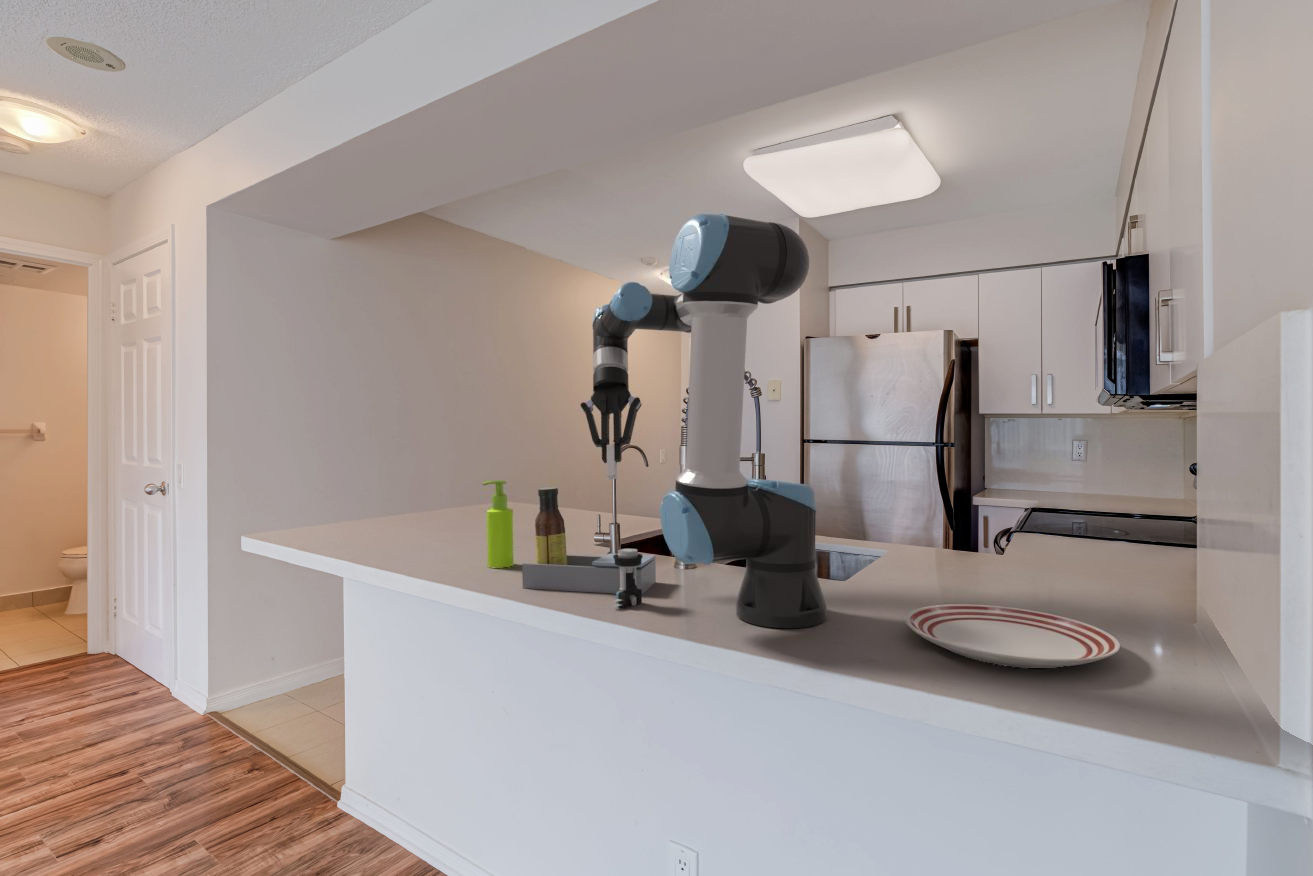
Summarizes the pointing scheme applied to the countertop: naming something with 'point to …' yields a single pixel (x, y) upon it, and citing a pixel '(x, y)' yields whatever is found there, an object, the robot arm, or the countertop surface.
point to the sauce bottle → (550, 529)
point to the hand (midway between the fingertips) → (611, 476)
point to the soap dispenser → (499, 529)
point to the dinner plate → (1012, 635)
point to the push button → (628, 578)
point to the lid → (610, 561)
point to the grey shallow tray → (583, 576)
